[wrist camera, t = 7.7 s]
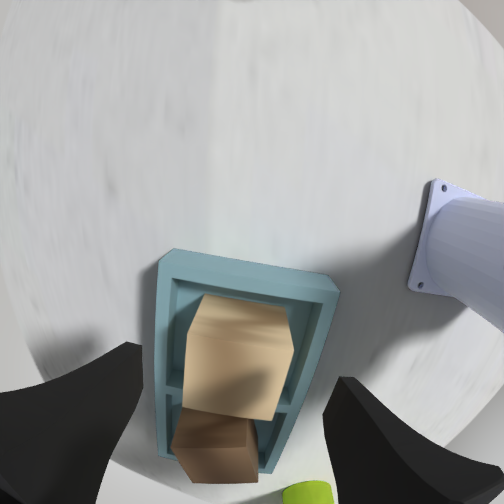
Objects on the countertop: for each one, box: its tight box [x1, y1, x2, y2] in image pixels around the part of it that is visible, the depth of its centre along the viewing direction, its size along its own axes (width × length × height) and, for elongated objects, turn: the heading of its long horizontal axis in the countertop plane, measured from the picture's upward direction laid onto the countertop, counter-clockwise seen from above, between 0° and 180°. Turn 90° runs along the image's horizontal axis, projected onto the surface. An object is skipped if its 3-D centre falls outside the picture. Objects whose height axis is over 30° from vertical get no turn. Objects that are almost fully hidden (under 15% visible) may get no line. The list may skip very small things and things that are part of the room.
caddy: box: [154, 248, 340, 474], centre depth 19 cm, size 10×18×3 cm, turn 170°
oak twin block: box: [182, 293, 294, 421], centre depth 16 cm, size 5×5×5 cm
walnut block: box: [170, 407, 258, 484], centre depth 18 cm, size 5×5×5 cm
